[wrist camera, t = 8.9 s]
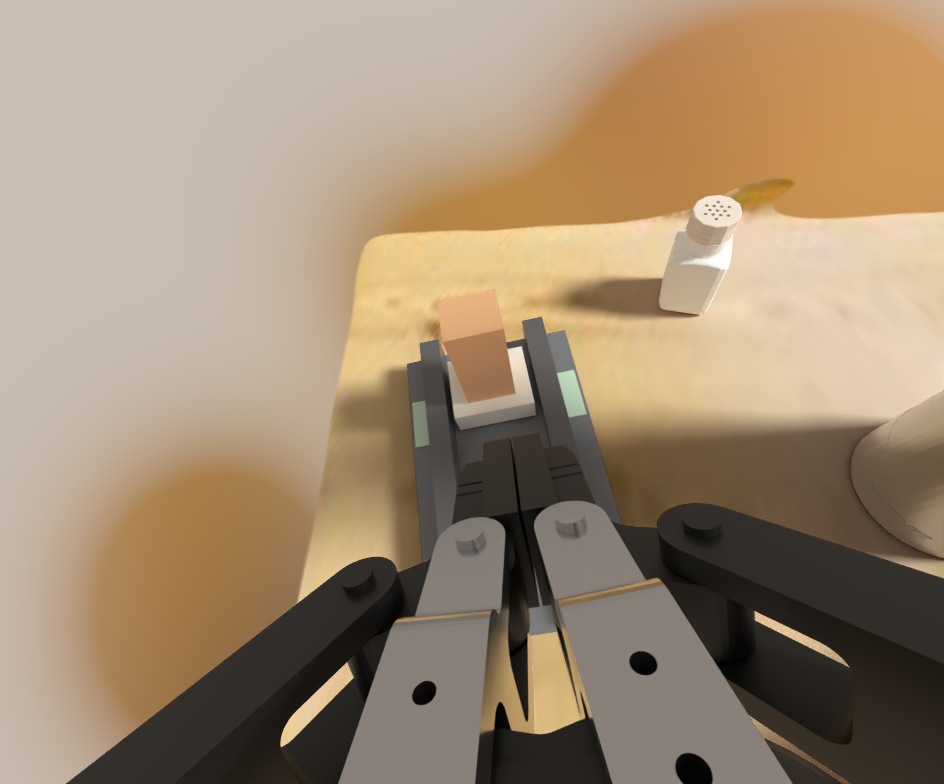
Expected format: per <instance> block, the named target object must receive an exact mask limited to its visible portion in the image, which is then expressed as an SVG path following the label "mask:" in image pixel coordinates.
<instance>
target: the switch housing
mask: <svg viewBox="0 0 944 784" xmlns="http://www.w3.org/2000/svg"><path fill="white" fill-rule="evenodd" d="M522 324H523V333H524V339H521V340H517V341H512V342H507V343H506V345H507V349H511V348H516V347H520V346H522V350H523V355H524V359H525V363H526V368H527V372H528V376H529V381H530V385H531V389H532V394H533V398H534V402H535V411H536V415H535V416H530V417H524V418H519V419H514V420H509V421H504V422H499V423H494V424H489V425H484V426H479V427H474V428H469V429H464V430H460V428H459V426H458V424H457V422H456V420H455V418H454V410H453V403H452V395H451V387H450V379H449V372H448V364H447V362H450V358H449V356H448V355H446V356H445V353H444V351H443V349H442V347H441V344H440V342H439V340H438V339H437V340H433V341H428V342H424V343H420V353H421V361H418V362H414V363H409V364H407V369H408V382H409V395H410V408H411V421H412V434H413V447H414V460H415V473H416V486H417V499H418V512H419V525H420V538H421V551H422V563H423V562H425V561H427V560H429V559H430V558H432V555H433V552H434V548H435V545H436V542H437V539H438V538H439V536H440V535H441V534H442V533H443V532H444V531H445V530H446V529H447V528H449V527H450V526H452V520H453V513H454V505H455V498H456V490H457V483H458V475H459V473H460V472H461V471H462V470H463V468H464V467H465V466H466V465H467V463H472V462H477V461H482V460H483V443H484V442H487V441H492V440H497V439H502V438H507V437H510V439H511V443H512V447H513V440H512V436H517V435H522V434H527V433H532V432H537V431H539V435H540V438H541V442H542V445H543V449H544V448H550V447H555V446H560V445H563V446H564V447H566V448H568V449H569V450H571V451H572V452H574V454H575V456H576V458H577V461H578V463H579V465H580V468H581V470H582V473H583V475H584V477H585V480H586V482H587V484H588V487H589V489H590V491H591V494H592V496H593V499H594V501H595V503H596V505H597V506H599V507H600V508H602V509H603V510H604V511H605V512H606V514H607V515H608V517H609V519H610V520H611V521H613V522H616V523H619V524H621V520H620V517H619V514H618V510H617V507H616V503H615V500H614V497H613V493H612V490H611V486H610V483H609V480H608V476H607V473H606V469H605V466H604V462H603V459H602V456H601V452H600V449H599V445H598V442H597V439H596V435H595V432H594V428H593V425H592V422H591V418H590V415H589V411H588V408H587V405H586V401H585V398H584V394H583V391H582V388H581V384H580V381H579V377H578V374H577V371H576V367H575V364H574V360H573V357H572V354H571V350H570V347H569V343H568V340H567V337H566V333H565V330H563V331H559V332H554V333H549V334H546V331H545V327H544V324H543V320H542V317H538V318H534V319H529V320H524V321H522ZM513 452H514V448H513ZM534 570H535V569H534ZM535 577H536V573H535ZM536 584H537V591H538V598H539V605H540V607H534V608H529V616H530V629H529V632H530V636H531V635H538V634H544V633H551V632H557V631H556V626H555V621H554V617H553V612H552V608H551V605H546V606H543V604H542V600H541V595H540V591H539V587H538V582H537V578H536Z"/></svg>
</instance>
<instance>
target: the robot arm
mask: <svg viewBox="0 0 944 784" xmlns="http://www.w3.org/2000/svg"><path fill="white" fill-rule="evenodd" d="M512 440H513V447H512V443H511V439H510V437H507V438H502V439H497V440H492V441H487V442H484V443H483V460H482V461H477V462H472V463H467V465H466V466H465V467H464V468H463V470H462V471H461V472H460V473H459V475H458V483H457V490H456V498H455V505H454V513H453V520H452V526H450V527H449V528H447V529H446V530H445V531H444V532H443V533H442V534H441V535H440V536H439V538H438V539H437V542H436V545H435V548H434V552H433V555H432V558H430V559H429V560H427V561H425V562H423V563H421V564H419V565H416V566H414V567H411V568H409V569H406V570H404V571H401V572H399V573H398V572H397V569H396V567H395V564H394V563H393V562H392V561H391V560H389V559H387V558H384V557H370V558H365V559H361V560H358V561H356V562H354V563H352V564H350V565H348V566H346V567H344V568H343V569H341V570H340V571H339V572H337V573H336V574H335V575H334V576H332V577H331V578H330V579H328V580H327V581H326V582H325V583H323V584H322V585H321V586H319V587H318V588H317V589H316V590H314V591H313V592H312V593H310V594H309V595H308V596H307V597H305V598H304V599H303V600H301V601H300V602H299V603H298V604H296V605H295V606H294V607H292V608H291V609H290V610H289V611H287V612H286V613H285V614H283V616H281V617H280V618H278V619H277V620H276V621H275V622H273V623H272V624H271V625H269V626H268V627H267V628H265V629H264V630H263V631H262V632H260V633H259V634H258V635H256V636H255V637H254V638H253V639H251V640H250V641H249V642H247V643H246V644H245V645H244V646H242V647H241V648H240V649H239V650H237V651H236V652H235V653H233V654H232V655H231V656H230V657H228V658H227V659H226V660H224V661H223V662H222V663H221V664H219V665H218V666H217V667H215V668H214V669H213V670H212V671H210V672H209V673H208V674H207V675H205V676H204V677H203V678H201V679H200V680H199V681H198V682H196V683H195V684H194V685H192V686H191V687H190V688H188V689H187V690H186V691H185V692H183V693H182V694H181V695H179V696H178V697H177V698H176V699H174V700H173V701H172V702H170V703H169V704H168V705H167V706H165V707H164V708H163V709H161V710H160V711H159V712H158V713H156V714H155V715H154V716H153V717H151V718H150V719H149V720H148V721H146V722H145V723H143V724H142V725H141V726H140V727H138V728H137V729H136V730H135V731H134V732H132V733H131V734H129V735H128V736H127V737H126V738H124V739H123V740H122V741H120V742H119V743H118V744H117V745H115V746H114V747H113V748H111V749H110V750H109V751H107V752H106V753H105V754H104V755H102V756H101V757H100V758H99V759H97V760H96V761H95V762H93V763H92V764H91V765H90V766H88V767H87V768H86V769H84V770H83V771H82V772H81V773H79V774H78V775H77V776H75V777H74V778H73V779H72V780H70V781H69V782H68V783H66V784H841V783H840V782H838V781H837V780H836V779H834V778H833V777H831V776H830V775H828V774H827V773H826V772H824V771H823V770H821V769H820V768H818V767H817V766H815V765H814V764H812V763H810V762H808V761H807V760H805V759H803V758H802V757H800V756H798V755H796V754H795V753H793V752H791V751H790V750H788V749H785V748H783V747H781V746H779V745H777V744H775V743H773V742H771V741H769V740H767V739H764V738H763V737H762V735H761V734H760V732H759V730H758V729H757V727H756V726H755V724H754V723H753V721H752V720H751V718H750V716H751V717H752V718H754V719H755V720H757V721H758V722H760V723H761V724H763V725H764V726H766V727H767V728H769V729H770V730H772V731H773V732H775V733H776V734H778V735H779V736H781V737H782V738H784V739H785V740H787V741H788V742H790V743H791V744H793V745H795V746H796V747H798V748H799V749H801V750H802V751H804V752H805V753H807V754H808V755H810V756H811V757H813V758H814V759H816V760H817V761H819V762H820V763H822V764H823V765H825V766H826V767H828V768H829V769H831V770H832V771H834V772H835V773H837V774H838V775H840V776H841V777H843V778H844V779H846V780H847V781H849V782H850V783H852V784H944V579H943V578H940V577H937V576H934V575H931V574H928V573H925V572H922V571H919V570H916V569H912V568H909V567H906V566H903V565H900V564H897V563H894V562H891V561H888V560H885V559H881V558H878V557H875V556H872V555H869V554H866V553H863V552H860V551H857V550H854V549H850V548H847V547H844V546H841V545H838V544H835V543H832V542H829V541H826V540H823V539H819V538H816V537H813V536H810V535H807V534H804V533H801V532H798V531H795V530H791V529H788V528H785V527H782V526H779V525H776V524H773V523H770V522H767V521H764V520H760V519H757V518H754V517H751V516H748V515H745V514H742V513H739V512H736V511H733V510H729V509H726V508H723V507H720V506H716V505H711V504H702V503H691V504H683V505H679V506H676V507H673V508H671V509H669V510H667V511H665V512H664V513H663V514H662V515H661V516H660V518H659V519H658V522H657V528H646V527H631V526H626V525H622V524H619V523H616V522H613V521H611V520H610V519H609V517H608V515H607V514H606V512H605V511H604V510H603V509H602V508H600V507H599V506H597V505H596V503H595V501H594V499H593V496H592V494H591V491H590V489H589V487H588V484H587V482H586V480H585V477H584V475H583V473H582V470H581V468H580V465H579V463H578V461H577V458H576V456H575V454H574V452H572V451H571V450H569V449H568V448H566V447H564V446H563V445H560V446H555V447H550V448H544V449H543V445H542V442H541V438H540V435H539V431H537V432H532V433H527V434H522V435H517V436H512ZM513 448H514V452H513ZM851 477H852V481H853V485H854V489H855V491H856V493H857V495H858V497H859V499H860V501H861V503H862V504H863V505H864V507H865V508H866V509H867V511H868V512H869V513H870V515H871V516H872V517H873V518H874V519H875V520H876V521H877V522H878V523H879V524H880V525H881V526H882V527H883V528H884V529H885V530H887V531H888V532H889V533H891V534H892V535H894V536H895V537H896V538H898V539H899V540H901V541H902V542H904V543H906V544H908V545H910V546H912V547H914V548H916V549H918V550H919V551H922V552H925V553H928V554H931V555H934V556H937V557H940V558H944V390H943V391H942V392H940V393H938V394H936V395H935V396H933V397H931V398H929V399H928V400H926V401H924V402H922V403H921V404H919V405H917V406H915V407H913V408H912V409H910V410H908V411H906V412H904V413H903V414H901V415H899V416H898V417H896V418H894V419H892V420H891V421H889V422H887V423H885V424H884V425H882V426H880V427H879V428H877V429H875V430H873V431H872V432H870V433H869V434H868V435H866V436H865V437H864V438H863V439H862V440H861V441H860V442H859V444H858V445H857V447H856V448H855V450H854V453H853V456H852V460H851ZM534 569H535V570H534ZM535 573H536V577H535ZM536 578H537V582H538V587H539V591H540V595H541V600H542V604H543V606H546V605H551V608H552V612H553V617H554V621H555V626H556V631H557V635H558V640H559V644H560V647H561V651H562V655H563V658H564V662H565V666H566V670H567V673H568V677H569V681H570V684H571V688H572V692H573V695H574V699H575V703H576V707H577V710H578V714H579V718H580V721H577V722H575V723H573V724H570V725H568V726H565V727H563V728H561V729H558V730H556V731H554V732H551V733H548V734H534V703H533V662H532V640H531V636H530V632H529V629H530V616H529V608H534V607H540V605H539V598H538V591H537V584H536ZM754 611H756V612H758V613H760V614H762V615H764V616H766V617H769V618H771V619H773V620H775V621H777V622H779V623H781V624H783V625H785V626H787V627H789V628H791V629H793V630H796V631H798V632H800V633H802V634H804V635H806V636H808V637H810V638H812V639H814V640H816V641H818V642H820V643H822V644H824V645H826V646H827V647H829V648H830V649H832V650H833V651H834V652H836V653H837V654H838V655H839V656H840V657H841V658H842V659H843V660H844V661H845V662H846V663H847V664H848V666H849V667H850V668H849V667H847V666H845V665H843V664H841V663H839V662H837V661H835V660H833V659H831V658H829V657H827V656H825V655H823V654H821V653H819V652H817V651H815V650H813V649H811V648H809V647H807V646H805V645H803V644H801V643H799V642H797V641H795V640H793V639H791V638H789V637H787V636H785V635H783V634H781V633H779V632H777V631H775V630H773V629H771V628H769V627H767V626H765V625H763V624H761V623H759V622H757V621H755V613H754ZM346 662H348V665H349V667H350V670H351V672H352V674H353V677H354V678H353V679H352V680H351V681H350V682H349V683H348V684H347V685H346V686H345V687H344V688H343V689H342V690H341V691H340V692H339V693H338V694H337V695H336V696H335V697H334V698H333V699H332V700H331V701H330V702H329V703H328V704H327V705H326V706H325V707H324V708H323V709H322V710H321V711H320V712H319V713H318V714H317V715H316V716H315V717H314V718H313V720H312V721H311V722H310V723H309V724H308V725H307V726H306V727H305V728H304V729H303V730H302V731H301V732H300V733H299V734H298V735H297V736H296V737H295V738H294V739H293V740H292V741H290V742H289V743H288V744H286V745H285V746H283V747H281V746H280V741H281V735H282V732H283V729H284V727H285V725H286V724H287V722H288V720H289V719H290V718H291V716H292V715H293V714H294V713H295V712H296V711H297V710H298V709H299V708H300V707H301V706H302V705H303V704H304V703H305V702H306V701H307V700H308V699H309V698H310V697H311V696H312V695H313V694H314V693H315V692H316V691H317V690H318V689H319V688H321V687H322V686H323V685H324V684H325V683H326V682H327V681H328V680H329V679H330V678H331V677H332V676H333V675H334V674H335V673H336V672H337V671H338V670H339V669H340V668H341V667H342V666H343V665H344V664H345V663H346Z"/></svg>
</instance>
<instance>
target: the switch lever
mask: <svg viewBox="0 0 944 784" xmlns="http://www.w3.org/2000/svg"><path fill="white" fill-rule="evenodd" d="M438 310H439V318H440V326H441V334H442V342H443V344H444V347H445V349H446V351H447V354H448V356H449V358H450V362H447V364H448V372H449V379H450V387H451V395H452V403H453V410H454V418H455V420H456V422H457V424H458V426H459V428H460V430H464V429H469V428H474V427H479V426H484V425H489V424H494V423H499V422H504V421H509V420H514V419H519V418H524V417H530V416H535V415H536V411H535V402H534V398H533V394H532V389H531V385H530V381H529V376H528V372H527V368H526V363H525V359H524V355H523V350H522V346H520V347H516V348H511V349H507V345H506V339H505V334H504V329H503V324H502V319H501V314H500V310H499V305H498V300H497V296H496V291H495V289H493V290H488V291H484V292H480V293H475V294H471V295H466V296H462V297H458V298H453V299H449V300H444V301H440V302H438Z"/></svg>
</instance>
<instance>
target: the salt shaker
mask: <svg viewBox="0 0 944 784" xmlns="http://www.w3.org/2000/svg"><path fill="white" fill-rule="evenodd" d="M741 215H742V210H741V207H740V204H738V203H737V202H736V201H734V200H733V199H732V198H729V197H725V196H720V195H716V196H707V197H705V198H703V199H702V200H699V201H698V202H696V204H695V206H694V208H693V209H692V212H691V215H690V218H689V221H688V224H687V227H686V228H684V229H681V230H679V231H678V232H677V234H676V237H675V241H674V244H673V247H672V250H671V253H670V257H669V260H668V263H667V266H666V269H665V273H664V276H663V280H662V286H661V291H660V297H659V305H660V308H661V309H663V310H669V311H676V312H684V313H691V314H704V313H705V312H706V311H707V309H708V308H709V306H710V304H711V302H712V300H713V298H714V296H715V294H716V292H717V290H718V287H719V285H720V283H721V281H722V279H723V277H724V275H725V273H726V271H727V269H728V267H729V265H730V259H731V252H732V236H733V233H734V231H735V228H736V226H737V224H738V222H739V220H740V218H741Z"/></svg>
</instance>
